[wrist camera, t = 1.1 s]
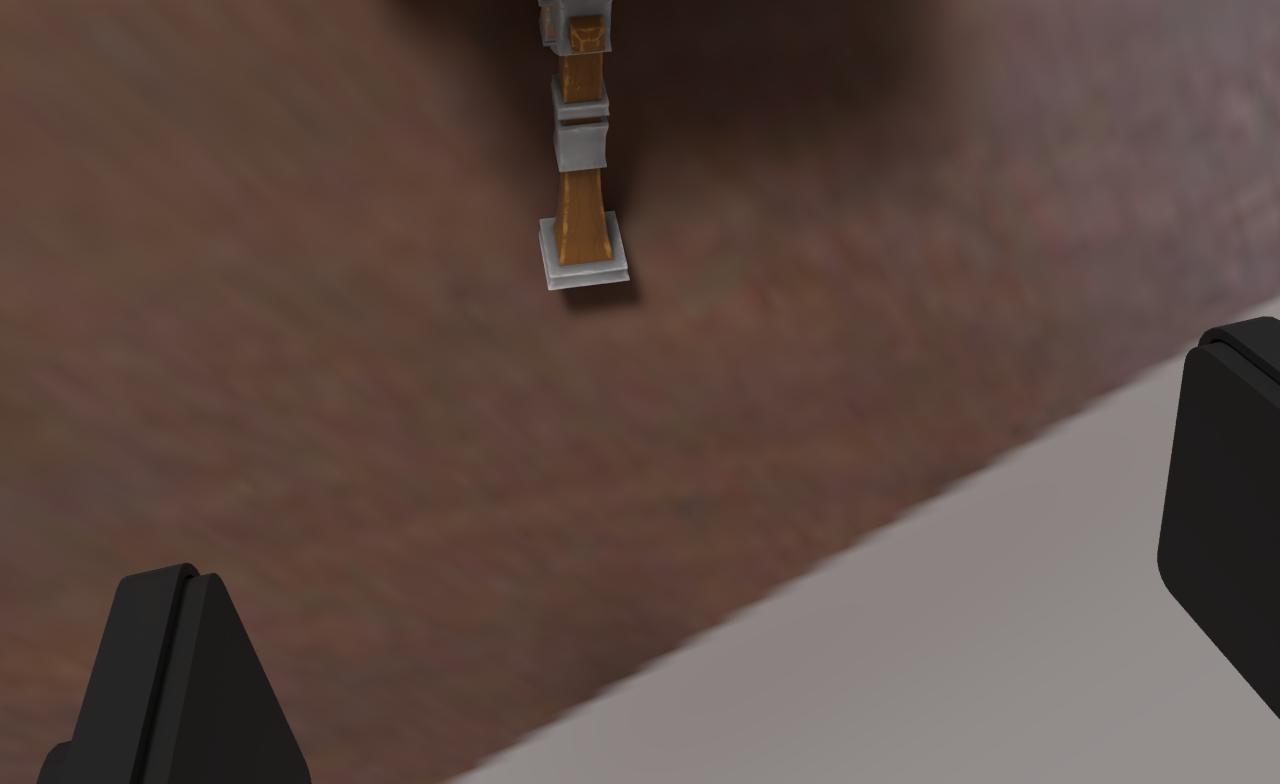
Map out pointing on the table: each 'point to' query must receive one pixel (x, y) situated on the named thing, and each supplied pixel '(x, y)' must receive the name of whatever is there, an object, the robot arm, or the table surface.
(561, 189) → the wooden post with brackets
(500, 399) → the table surface
